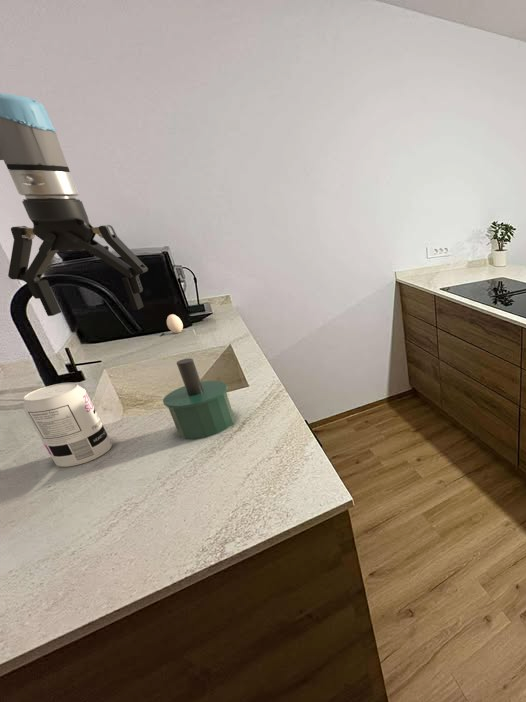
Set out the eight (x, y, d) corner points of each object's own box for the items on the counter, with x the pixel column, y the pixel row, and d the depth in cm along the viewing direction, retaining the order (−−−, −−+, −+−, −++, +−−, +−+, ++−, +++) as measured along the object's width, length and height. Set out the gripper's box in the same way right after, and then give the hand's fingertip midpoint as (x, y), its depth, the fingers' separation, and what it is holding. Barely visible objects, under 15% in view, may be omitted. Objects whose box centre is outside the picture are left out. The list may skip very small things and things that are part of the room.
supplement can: (47, 465, 73) (7, 398, 67) (97, 441, 81) (65, 378, 75) (74, 473, 71) (35, 404, 65) (123, 447, 78) (92, 384, 72)
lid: (155, 415, 75) (139, 376, 72) (175, 390, 85) (162, 355, 81) (221, 404, 79) (208, 367, 75) (233, 382, 88) (222, 347, 85)
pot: (172, 445, 79) (158, 411, 75) (188, 420, 88) (176, 388, 84) (229, 435, 82) (218, 401, 79) (239, 412, 91) (229, 381, 88)
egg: (187, 331, 147) (181, 313, 144) (174, 335, 143) (168, 316, 140) (180, 330, 149) (174, 312, 146) (167, 333, 145) (161, 315, 142)
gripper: (-64, 197, 61) (2, 322, 69) (126, 198, 68) (164, 310, 77) (-25, 197, 67) (30, 311, 76) (144, 198, 75) (177, 301, 83)
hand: (98, 311), depth 76 cm, fingers open, 13 cm apart
